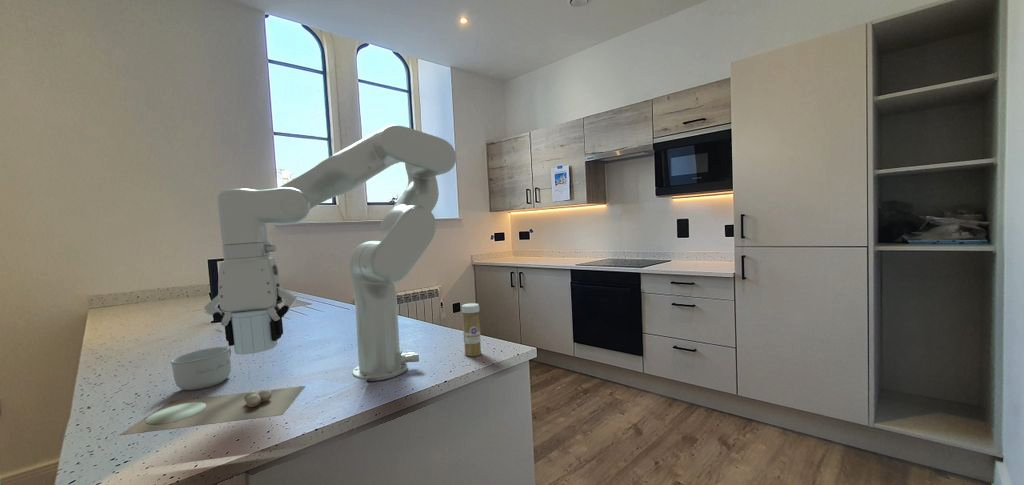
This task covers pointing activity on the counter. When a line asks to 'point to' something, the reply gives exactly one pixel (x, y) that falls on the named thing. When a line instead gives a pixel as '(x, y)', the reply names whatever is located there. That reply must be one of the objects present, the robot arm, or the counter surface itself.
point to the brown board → (218, 409)
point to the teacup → (202, 368)
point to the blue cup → (252, 331)
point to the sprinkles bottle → (471, 329)
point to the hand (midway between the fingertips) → (255, 340)
